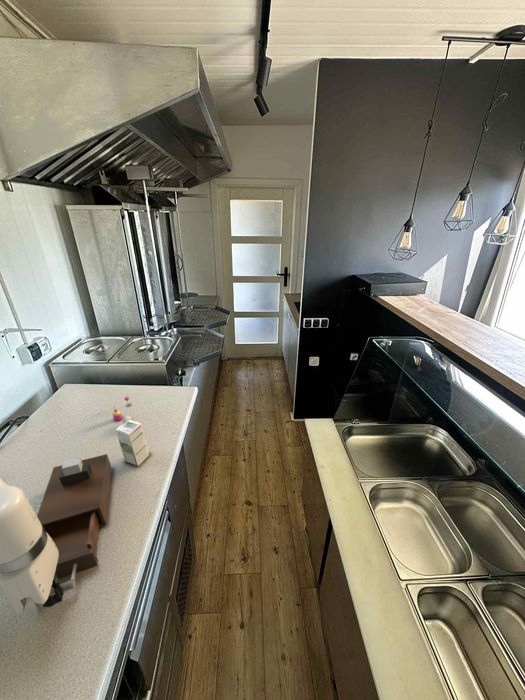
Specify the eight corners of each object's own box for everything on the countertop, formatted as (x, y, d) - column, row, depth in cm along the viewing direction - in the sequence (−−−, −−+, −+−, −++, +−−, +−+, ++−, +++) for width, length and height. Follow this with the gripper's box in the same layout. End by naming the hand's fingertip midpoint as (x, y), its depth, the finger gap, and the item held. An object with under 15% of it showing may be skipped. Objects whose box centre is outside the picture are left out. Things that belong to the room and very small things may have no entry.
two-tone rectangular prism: (62, 485, 81) (55, 470, 78) (64, 477, 83) (58, 462, 80) (90, 477, 83) (84, 462, 80) (91, 469, 85) (86, 455, 83)
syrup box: (150, 454, 100) (142, 421, 93) (137, 467, 95) (128, 433, 89) (137, 450, 102) (128, 417, 95) (124, 462, 97) (114, 429, 90)
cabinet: (106, 524, 78) (99, 507, 74) (42, 544, 73) (32, 527, 70) (112, 469, 94) (107, 453, 91) (61, 483, 89) (53, 467, 86)
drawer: (94, 589, 64) (88, 576, 61) (22, 616, 59) (12, 603, 57) (105, 499, 83) (101, 487, 81) (52, 515, 79) (45, 502, 77)
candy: (141, 425, 113) (138, 413, 111) (119, 434, 109) (115, 421, 106) (130, 403, 126) (127, 392, 124) (110, 410, 122) (107, 398, 120)
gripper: (11, 517, 56) (44, 569, 64) (-27, 604, 44) (19, 656, 52) (55, 504, 59) (81, 556, 67) (31, 584, 46) (67, 636, 54)
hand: (54, 599), depth 59 cm, fingers closed
